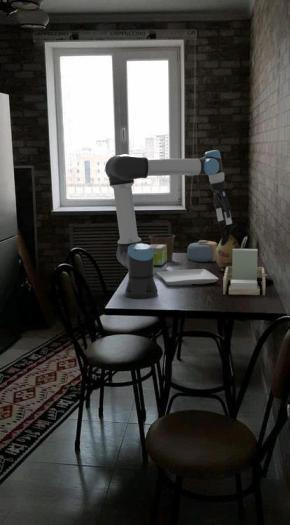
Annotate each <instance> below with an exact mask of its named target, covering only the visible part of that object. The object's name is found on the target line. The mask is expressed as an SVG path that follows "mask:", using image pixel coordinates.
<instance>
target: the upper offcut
mask: <svg viewBox="0 0 290 525" xmlns="http://www.w3.org/2000/svg"><path fill="white" fill-rule="evenodd" d="M230 286H231V289H254V290H257V286H258V281H257V280H230Z"/></svg>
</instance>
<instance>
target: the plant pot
mask: <svg viewBox="0 0 290 525" xmlns="http://www.w3.org/2000/svg"><path fill="white" fill-rule="evenodd" d="M148 237H149V241H150V245H151V244H157V245H167V263H171V262H172V261H173V256H174V243H175V237H176V235H175V234H153V235H149V236H148Z"/></svg>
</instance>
